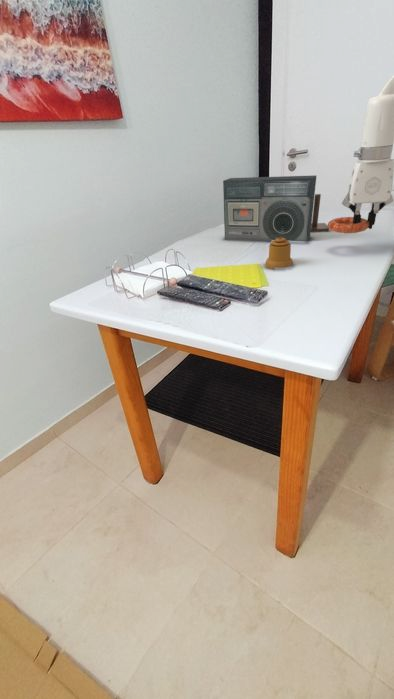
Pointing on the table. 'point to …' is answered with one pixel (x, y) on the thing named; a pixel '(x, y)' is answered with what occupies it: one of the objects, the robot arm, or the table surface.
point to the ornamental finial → (279, 254)
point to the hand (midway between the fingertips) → (362, 227)
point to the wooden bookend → (315, 225)
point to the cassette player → (268, 208)
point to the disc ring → (348, 225)
